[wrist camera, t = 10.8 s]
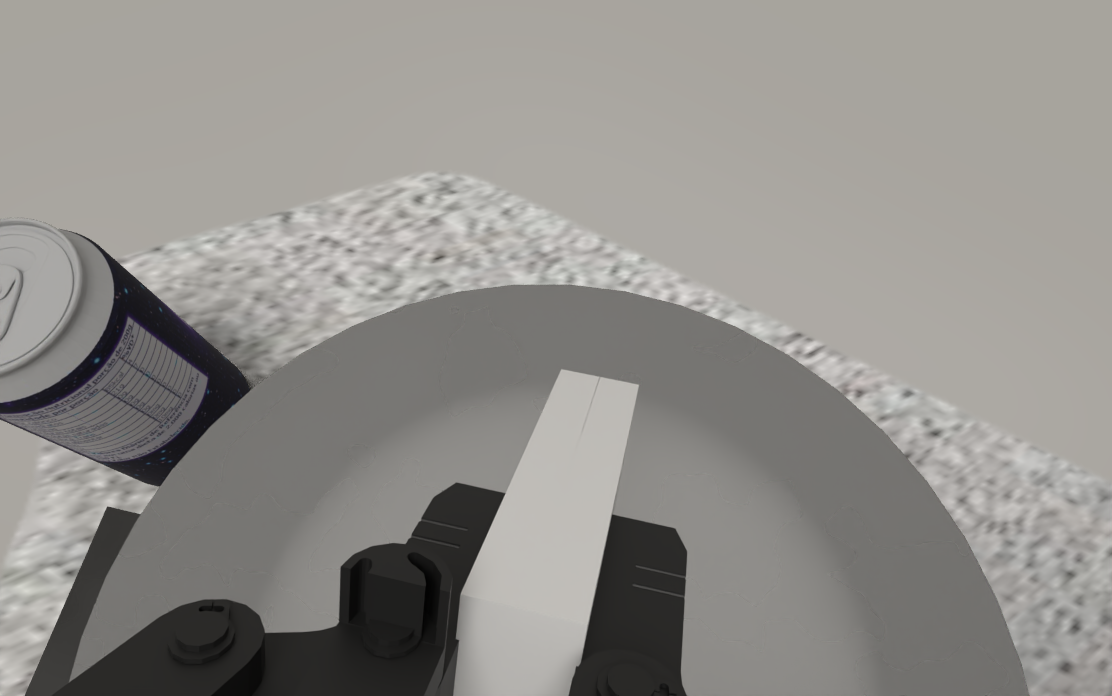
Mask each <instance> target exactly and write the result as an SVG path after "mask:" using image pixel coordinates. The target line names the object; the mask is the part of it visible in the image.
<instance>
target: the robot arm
mask: <svg viewBox="0 0 1112 696" xmlns="http://www.w3.org/2000/svg"><path fill="white" fill-rule="evenodd" d="M638 388H639V385H638V384H633V383H628V382H623V381H618V380H613V379H608V378H603V377H598V376H593V375H588V374H583V373H578V372H573V371H568V370H563V369H561V371H560V373H559V375H558V378H557V380H556V382H555V384H554V387H553V389H552V391H551V393H550V396H549V398H548V400H547V402H546V404H545V407H544V409H543V411H542V413H541V416H540V418H539V420H538V422H537V425H536V427H535V429H534V431H533V434H532V436H531V438H530V440H529V442H528V445H527V447H526V449H525V451H524V454H523V456H522V458H521V460H520V463H519V465H518V467H517V469H516V471H515V474H514V476H513V478H512V480H511V483H510V485H509V487H508V489H507V492H506V493H503V492H498V491H494V490H489V489H485V488H480V487H476V486H471V485H466V484H462V483H457V482H456V483H455V484H453V485H451V486H450V487H448V488H447V489H445V490H444V491H442V492H441V493H439V494H438V495H436V496H434V497H433V499H432V501H431V502H430V504H429V506H428V507H427V509H426V511H425V512H424V514H423V516H422V518H421V521H419V522H418V524H417V526H416V527H415V529H414V531H413V532H412V535H411V538H409V539H408V541H407V542H406V544H400V543H389V544H382V545H376V546H371V547H369V548H367V549H364V550H362V551H360V552H357V553H355V554H353V555H352V556H351V557H350V558H349V559H348V560H347V561H346V562H345V563H344V564H343V565H342V566H341V568H340V601H339V622H338V624H337V626H334V627H331V628H327V629H324V630H318V631H309V632H277V633H265V629H264V626H263V624H262V621H261V618H260V616H259V615H258V614H257V613H256V612H255V611H253V610H252V609H251V608H250V607H248V606H247V605H245V604H242V603H238V602H235V601H231V600H228V599H204V600H200V601H196V602H192V603H188V604H184V605H181V606H179V607H177V608H175V609H173V610H171V611H169V612H168V613H166V614H164V615H162V616H160V617H159V618H157V619H156V620H155V621H153V622H152V623H150V624H149V625H148V626H146V627H145V628H144V629H142V630H141V631H139V632H138V633H137V634H135V635H134V636H132V637H131V638H130V639H128V640H127V641H126V642H124V643H123V644H121V645H120V646H119V647H117V648H116V649H115V650H113V651H112V652H110V653H109V654H108V655H106V656H105V657H104V658H102V659H101V660H99V661H98V662H97V663H95V664H94V665H92V666H91V667H90V668H88V669H87V670H86V671H84V672H83V673H81V674H80V675H79V676H77V677H76V678H75V679H73V680H72V681H70V682H69V683H68V684H66V685H65V686H64V687H62V688H61V689H59V690H58V691H57V692H55V693H54V694H53V695H51V696H687V695H686V692H685V690H684V687H683V685H682V677H681V660H682V642H683V623H684V605H685V599H684V597H685V587H686V579H685V578H686V568H687V550H686V548H685V546H684V544H683V542H682V540H681V538H680V536H679V534H678V533H677V531H676V529H675V528H672V527H667V526H663V525H658V524H654V523H649V522H645V521H640V520H636V519H631V518H626V517H622V516H617V515H614V511H615V506H616V501H617V496H618V491H619V486H620V481H621V476H622V470H623V465H624V460H625V455H626V450H627V445H628V439H629V434H630V429H631V424H632V419H633V414H634V408H635V403H636V398H637V393H638Z"/></svg>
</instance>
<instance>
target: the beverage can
mask: <svg viewBox="0 0 1112 696" xmlns="http://www.w3.org/2000/svg"><path fill="white" fill-rule="evenodd" d="M249 391H250V390H249V387H248V384H247V382H246V380H245V378H244V376H243V375H242V373H241V372H240V371H239V369H238V368H237V367H236V366H235V365H233V364H232V363H231V362H230V361H229V360H228V359H227V358H226V357H224V356H223V355H222V354H221V353H220V352H219V351H218V350H217V349H215V348H214V347H213V346H212V345H211V344H210V343H209V342H207V341H206V340H205V339H204V338H203V337H202V336H201V335H200V334H198V333H197V332H196V331H195V330H194V329H193V328H192V327H190V326H189V325H188V324H187V323H186V322H185V321H184V320H183V319H181V318H180V317H179V316H178V315H177V314H176V313H175V312H173V311H172V310H171V309H170V308H169V307H168V306H167V305H166V304H164V303H163V302H162V301H161V300H160V299H159V298H158V297H156V296H155V295H154V294H153V293H152V292H151V291H150V290H149V289H147V288H146V287H145V286H144V285H143V284H142V283H141V282H139V281H138V280H137V279H136V278H135V277H134V276H133V275H132V274H130V273H129V272H128V271H127V270H126V269H125V268H124V267H122V266H121V265H120V264H119V263H118V262H117V261H116V260H115V259H113V258H112V257H111V256H110V255H109V254H108V253H106V252H105V251H104V250H103V249H102V248H101V247H100V246H99V245H97V244H96V243H95V242H93V241H92V240H90V239H88V238H86V237H85V236H82V235H80V234H77V233H74V232H71V231H66V230H62V229H57V228H55V227H53V226H51V225H49V224H47V223H44V222H41V221H37V220H34V219H28V218H3V219H0V420H3V421H5V422H7V423H9V424H12V425H14V426H16V427H19V428H21V429H23V430H26V431H28V432H30V433H32V434H35V435H37V436H39V437H41V438H44V439H46V440H48V441H50V442H53V443H55V444H57V445H60V446H62V447H64V448H66V449H69V450H71V451H73V452H76V453H78V454H80V455H82V456H85V457H87V458H89V459H92V460H94V461H96V462H98V463H101V464H103V465H105V466H108V467H110V468H112V469H114V470H117V471H119V472H121V473H123V474H126V475H128V476H130V477H133V478H135V479H137V480H139V481H142V482H144V483H147V484H150V485H155V486H161V485H162V483H163V482H164V481H165V479H166V478H167V476H168V475H169V473H170V472H171V471H172V469H173V468H174V467H175V466H176V465H177V464H178V463H179V462H180V460H181V459H182V458H183V457H184V456H185V455H186V454H187V452H188V451H189V450H190V449H191V448H192V447H193V446H194V445H195V443H196V442H197V441H198V440H199V439H200V438H201V437H202V436H203V434H204V433H205V432H206V431H207V430H208V429H209V428H210V426H211V425H213V424H214V423H215V422H216V421H217V420H218V419H219V418H220V417H221V416H223V415H224V414H225V413H226V412H227V411H228V410H229V409H230V408H231V407H233V406H234V405H235V404H236V403H237V402H238V401H239V400H240V399H242V398H243V397H244V396H245V395H246V394H247V393H248V392H249Z"/></svg>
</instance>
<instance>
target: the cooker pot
mask: <svg viewBox="0 0 1112 696" xmlns="http://www.w3.org/2000/svg"><path fill="white" fill-rule="evenodd" d="M140 515H141V514H137V513H132V512H128V511H124V510H120V509H116V508H111V507H107V508H106V511H105V513H104V515H103V518H102V520H101V522H100V525H99V527H98V529H97V531H96V534H95V536H94V538H93V541H92V543H91V545H90V547H89V550H88V552H87V554H86V557H85V559H84V561H83V563H82V566H81V568H80V570H79V573H78V575H77V577H76V579H75V582H74V584H73V586H72V589H71V591H70V593H69V595H68V598H67V600H66V602H65V605H64V607H63V609H62V611H61V614H60V616H59V618H58V621H57V623H56V625H55V628H54V630H53V632H52V634H51V637H50V639H49V641H48V644H47V646H46V648H45V650H44V653H43V655H42V657H41V660H40V662H39V664H38V666H37V669H36V671H35V673H34V676H33V678H32V680H31V682H30V685H29V687H28V689H27V692H26V694H25V696H51V695H53V694H54V693H55V692H57V691H58V690H59V689H61V688H62V687H64V686H65V685H66V684H68V683H69V680H70V677H71V673H72V669H73V666H74V662H75V659H76V655H77V652H78V648H79V644H80V641H81V637H82V635H83V632H84V630H85V627H86V625H87V622H88V620H89V617H90V615H91V613H92V610H93V608H94V605H95V603H96V600H97V598H98V595H99V593H100V590H101V588H102V585H103V583H104V580H105V578H106V576H107V574H108V572H109V570H110V568H111V567H112V565H113V563H114V561H115V559H116V557H117V556H118V554H119V552H120V550H121V548H122V546H123V544H124V543H125V541H126V539H127V537H128V535H129V533H130V532H131V530H132V528H133V526H134V524H135V522H136V521H137V519H138V518H139V516H140Z"/></svg>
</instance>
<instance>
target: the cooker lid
mask: <svg viewBox="0 0 1112 696" xmlns="http://www.w3.org/2000/svg"><path fill="white" fill-rule="evenodd" d="M561 369H563V370H568V371H573V372H578V373H583V374H588V375H593V376H598V377H603V378H608V379H613V380H618V381H623V382H628V383H633V384H638V385H639V388H638V393H637V398H636V403H635V408H634V414H633V419H632V424H631V429H630V434H629V439H628V445H627V450H626V455H625V460H624V465H623V470H622V476H621V481H620V486H619V491H618V496H617V501H616V506H615V511H614V515H617V516H622V517H626V518H631V519H636V520H640V521H645V522H649V523H654V524H658V525H663V526H667V527H672V528H675V529H676V531H677V533H678V534H679V536H680V538H681V540H682V542H683V544H684V546H685V548H686V550H687V568H686V578H685V579H686V587H685V597H684V599H685V605H684V623H683V642H682V660H681V677H682V685H683V687H684V690H685V692H686V695H687V696H1029V693H1028V689H1027V685H1026V681H1025V677H1024V673H1023V669H1022V665H1021V662H1020V660H1019V657H1018V654H1017V652H1016V649H1015V646H1014V644H1013V641H1012V638H1011V636H1010V633H1009V630H1008V628H1007V625H1006V622H1005V620H1004V617H1003V614H1002V612H1001V609H1000V606H999V604H998V601H997V598H996V596H995V595H994V593H993V591H992V589H991V587H990V585H989V583H988V581H987V579H986V577H985V575H984V573H983V571H982V569H981V567H980V566H979V564H978V562H977V560H976V558H975V556H974V554H973V552H972V550H971V548H970V546H969V544H968V542H967V540H966V538H965V537H964V535H963V534H962V532H961V531H960V529H959V528H958V526H957V525H956V523H955V522H954V520H953V519H952V517H951V516H950V515H949V513H948V512H947V510H946V509H945V507H944V506H943V504H942V503H941V501H940V500H939V498H938V497H937V495H936V494H935V492H934V491H933V489H932V488H931V487H930V485H929V484H928V482H927V481H926V480H925V479H924V477H923V476H922V475H921V474H920V473H919V472H918V470H917V469H916V468H915V467H914V466H913V465H912V464H911V462H910V461H909V460H908V459H907V458H906V457H905V455H904V454H903V453H902V452H901V451H900V450H899V449H898V447H897V446H896V445H895V444H894V443H893V442H892V440H891V439H890V438H889V437H888V436H887V435H886V434H885V432H883V431H882V430H881V429H880V428H879V427H878V426H877V425H876V424H875V423H874V422H872V421H871V420H870V419H869V418H868V417H867V416H866V415H865V414H864V413H862V412H861V411H860V410H859V409H858V408H857V407H856V406H855V405H854V404H853V403H851V402H850V401H849V400H848V399H847V398H846V397H845V396H844V395H843V394H842V393H840V392H839V391H838V390H837V389H835V388H834V387H833V386H831V385H830V384H828V383H827V382H826V381H824V380H823V379H821V378H820V377H819V376H817V375H816V374H814V373H813V372H811V371H810V370H809V369H807V368H806V367H804V366H803V365H802V364H800V363H799V362H797V361H796V360H794V359H793V358H792V357H790V356H789V355H787V354H785V353H784V352H782V351H780V350H778V349H776V348H774V347H772V346H770V345H769V344H767V343H765V342H763V341H761V340H759V339H757V338H756V337H754V336H752V335H750V334H748V333H746V332H744V331H743V330H741V329H739V328H737V327H735V326H733V325H730V324H727V323H725V322H722V321H720V320H717V319H714V318H712V317H709V316H707V315H704V314H702V313H699V312H696V311H694V310H691V309H689V308H686V307H684V306H681V305H677V304H673V303H669V302H665V301H661V300H657V299H653V298H649V297H645V296H641V295H637V294H633V293H629V292H625V291H617V290H609V289H601V288H592V287H584V286H576V285H509V286H501V287H493V288H485V289H477V290H470V291H462V292H456V293H452V294H448V295H445V296H441V297H437V298H433V299H429V300H425V301H421V302H417V303H413V304H409V305H405V306H403V307H400V308H397V309H395V310H392V311H390V312H387V313H385V314H382V315H380V316H377V317H374V318H372V319H369V320H367V321H364V322H362V323H359V324H357V325H354V326H352V327H350V328H348V329H346V330H344V331H342V332H341V333H339V334H337V335H335V336H333V337H331V338H329V339H328V340H326V341H324V342H322V343H320V344H318V345H316V346H315V347H313V348H311V349H309V350H307V351H305V352H303V353H302V354H300V355H299V356H297V357H296V358H295V359H293V360H292V361H290V362H289V363H288V364H286V365H285V366H283V367H282V368H280V369H279V370H278V371H276V372H275V373H273V374H272V375H270V376H269V377H268V378H266V379H265V380H263V381H262V382H261V383H259V384H258V385H256V386H255V387H254V388H253V389H252V390H250V391H249V392H248V393H247V394H246V395H245V396H244V397H243V398H242V399H240V400H239V401H238V402H237V403H236V404H235V405H234V406H233V407H231V408H230V409H229V410H228V411H227V412H226V413H225V414H224V415H223V416H221V417H220V418H219V419H218V420H217V421H216V422H215V423H214V424H213V425H211V426H210V428H209V429H208V430H207V431H206V432H205V433H204V434H203V436H202V437H201V438H200V439H199V440H198V441H197V442H196V443H195V445H194V446H193V447H192V448H191V449H190V450H189V451H188V452H187V454H186V455H185V456H184V457H183V458H182V459H181V460H180V462H179V463H178V464H177V465H176V466H175V467H174V468H173V469H172V471H171V472H170V473H169V475H168V476H167V478H166V479H165V481H164V482H163V483H162V485H161V486H160V488H159V489H158V491H157V492H156V493H155V495H154V496H153V498H152V499H151V501H150V502H149V503H148V505H147V506H146V508H145V509H144V511H143V512H142V514H141V515H140V516H139V518H138V519H137V521H136V522H135V524H134V526H133V528H132V530H131V532H130V533H129V535H128V537H127V539H126V541H125V543H124V544H123V546H122V548H121V550H120V552H119V554H118V556H117V557H116V559H115V561H114V563H113V565H112V567H111V568H110V570H109V572H108V574H107V576H106V578H105V580H104V583H103V585H102V588H101V590H100V593H99V595H98V598H97V600H96V603H95V605H94V608H93V610H92V613H91V615H90V617H89V620H88V622H87V625H86V627H85V630H84V632H83V635H82V637H81V641H80V644H79V648H78V652H77V655H76V659H75V662H74V666H73V669H72V673H71V677H70V680H69V682H70V681H72V680H73V679H75V678H76V677H77V676H79V675H80V674H81V673H83V672H84V671H86V670H87V669H88V668H90V667H91V666H92V665H94V664H95V663H97V662H98V661H99V660H101V659H102V658H104V657H105V656H106V655H108V654H109V653H110V652H112V651H113V650H115V649H116V648H117V647H119V646H120V645H121V644H123V643H124V642H126V641H127V640H128V639H130V638H131V637H132V636H134V635H135V634H137V633H138V632H139V631H141V630H142V629H144V628H145V627H146V626H148V625H149V624H150V623H152V622H153V621H155V620H156V619H157V618H159V617H160V616H162V615H164V614H166V613H168V612H169V611H171V610H173V609H175V608H177V607H179V606H181V605H184V604H188V603H192V602H196V601H200V600H204V599H228V600H231V601H235V602H238V603H242V604H245V605H247V606H248V607H250V608H251V609H252V610H253V611H255V612H256V613H257V614H258V615H259V616H260V618H261V621H262V624H263V626H264V629H265V633H277V632H309V631H318V630H324V629H327V628H331V627H334V626H337V624H338V622H339V601H340V568H341V566H342V565H343V564H344V563H345V562H346V561H347V560H348V559H349V558H350V557H351V556H352V555H353V554H355V553H357V552H360V551H362V550H364V549H367V548H369V547H371V546H376V545H382V544H389V543H400V544H406V542H407V541H408V539H409V538H411V535H412V532H413V531H414V529H415V527H416V526H417V524H418V522H419V521H421V518H422V516H423V514H424V512H425V511H426V509H427V507H428V506H429V504H430V502H431V501H432V499H433V497H434V496H436V495H438V494H439V493H441V492H442V491H444V490H445V489H447V488H448V487H450V486H451V485H453V484H455V483H456V482H457V483H462V484H466V485H471V486H476V487H480V488H485V489H489V490H494V491H498V492H503V493H506V492H507V489H508V487H509V485H510V483H511V480H512V478H513V476H514V474H515V471H516V469H517V467H518V465H519V463H520V460H521V458H522V456H523V454H524V451H525V449H526V447H527V445H528V442H529V440H530V438H531V436H532V434H533V431H534V429H535V427H536V425H537V422H538V420H539V418H540V416H541V413H542V411H543V409H544V407H545V404H546V402H547V400H548V398H549V396H550V393H551V391H552V389H553V387H554V384H555V382H556V380H557V378H558V375H559V373H560V371H561Z"/></svg>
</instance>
